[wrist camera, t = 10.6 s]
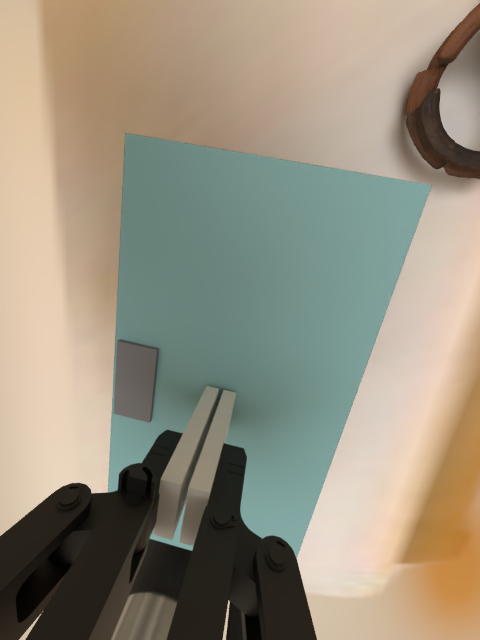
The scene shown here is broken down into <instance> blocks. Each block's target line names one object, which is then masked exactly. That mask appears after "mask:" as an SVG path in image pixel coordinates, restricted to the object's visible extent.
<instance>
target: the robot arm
mask: <svg viewBox="0 0 480 640" xmlns="http://www.w3.org/2000/svg"><path fill="white" fill-rule="evenodd" d="M218 393H219V388H215V387H210V386H206V388H205V390H204V392H203V394H202V396H201V398H200V400H199V402H198V404H197V406H196V408H195V410H194V412H193V414H192V417H191V419H190V421H189V423H188V425H187V427H186V429H185V431H184V433H179V432H175V431H171V430H166V431H164V432H163V433H161V434H160V435H159V436H158V437H157V439H156V441H155V442H154V444H153V446H152V447H151V449H150V450H149V453H147V455H146V457H145V458H144V460H143V462H142V463H135V464H131V465H129V466H127V467H125V468H124V469H123V470H122V471H121V472H120V473H119V480H118V490H116V491H113V492H108V493H93V494H91V490H90V488H89V487H88V486H87V485H85V484H81V483H72V484H69V485H66V486H63V487H61V488H60V489H58V490H57V491H55V492H54V493H53V494H51V495H50V496H49V497H48V498H46V499H45V500H44V501H43V502H42V503H40V504H39V505H38V506H37V507H35V508H34V509H33V510H32V511H31V512H29V513H28V514H27V515H26V516H25V517H23V518H22V519H21V520H20V521H18V522H17V523H16V524H15V525H14V526H12V527H11V528H10V529H9V530H8V531H6V532H5V533H4V534H3V535H1V536H0V640H19V639H20V638H21V636H22V635H23V634H24V633H25V632H26V630H27V629H28V628H29V627H30V626H31V624H32V623H33V622H34V621H35V620H36V618H37V617H38V616H39V615H40V614H41V613H42V614H41V616H40V617H39V619H38V621H37V622H36V624H35V625H34V627H33V628H32V630H31V632H30V633H29V635H28V637H27V638H26V640H111V638H112V636H113V633H114V631H115V628H116V626H117V623H118V621H119V618H120V616H121V613H122V611H123V609H124V606H125V604H126V601H127V599H128V596H129V594H130V591H131V589H132V586H133V584H134V581H135V579H136V577H137V574H138V572H139V569H140V567H141V564H142V562H143V559H144V557H145V554H146V552H147V547H148V542H149V538H150V536H151V533H152V531H153V529H154V533H153V535H156V536H159V537H163V538H166V539H170V540H173V537H174V534H175V531H176V529H177V526H178V523H179V520H180V517H181V514H182V511H183V509H184V506H185V511H184V517H183V523H182V529H181V534H180V540H179V542H180V543H184V544H187V545H191V546H193V550H192V553H191V557H190V560H189V564H188V567H187V570H186V574H185V577H184V581H183V584H182V588H181V591H180V595H179V598H178V601H177V605H176V608H175V612H174V615H173V619H172V622H171V626H170V629H169V632H168V636H167V639H166V640H222V639H223V631H224V625H225V618H226V612H227V604H228V600H229V601H230V602H231V603H232V604H234V605H235V606H236V607H237V608H239V609H240V610H241V619H242V633H243V640H317V638H316V634H315V630H314V626H313V622H312V618H311V614H310V610H309V606H308V602H307V598H306V595H305V591H304V587H303V583H302V579H301V575H300V571H299V567H298V563H297V559H296V556H295V554H294V551H293V549H292V548H291V546H290V545H289V544H288V543H287V542H286V541H285V540H283V539H282V538H280V537H277V536H273V535H271V536H266V537H264V538H263V539H262V538H261V537H259V536H258V535H256V534H255V533H253V532H252V531H251V530H250V529H249V528H248V527H247V526H246V525H245V523H244V521H243V519H242V517H241V513H240V506H241V499H242V491H243V484H244V476H245V469H246V462H247V456H246V453H245V450H244V448H241V447H237V446H233V445H229V444H225V442H226V438H227V434H228V430H229V426H230V421H231V416H232V411H233V407H234V402H235V397H236V393H235V392H231V391H227V390H223V393H222V396H221V399H220V401H219V404H218V407H217V410H216V413H215V409H216V403H217V398H218ZM214 414H215V415H214ZM185 503H186V505H185ZM43 610H44V611H43ZM42 611H43V612H42Z"/></svg>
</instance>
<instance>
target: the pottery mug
mask: <svg viewBox="0 0 480 640" xmlns="http://www.w3.org/2000/svg"><path fill="white" fill-rule="evenodd" d="M479 30H480V4H478V5H477V6H476V7H475V8H474V9H473V10H472V11H471V12H470V13H469V14H468V15H467V16H466V18H465V19H464V20H463V21H462V22H461V23H460V24H459V25H458V26H457V27H456V28H455V29H454V30H453V31H452V32H451V33H450V35H449V36H448V37H447V38H446V40H445V41H444V42H443V44H442V45H441V46H440V48H439V49H438V51H437V52H436V54H435V55H434V57H433V59H432V60H431V62H430V64H429V66H428V68H427V70H425V71H423V72H419V73H418V74H417V75H416V77H415V80H414V83H413V85H412V88H411V91H410V95H409V99H408V103H407V109H406V114H408V116H407V119H406V125H407V128H408V131H409V134H410V136H411V138H412V140H413V143H414V145H415V146H416V148H417V150H418V152H419V153H420V154H421V156H422V157H423V158H424V159H425V160H426V161H427V162H428V163H429V164H430V165H431V166H432V167H433V168H435V169H440V168H442V167H443V168H444V169H445V171H446V173H447V174H448V175H452V176H457V177H466V178H478V179H480V152H479V151H473V150H470V149H467V148H464V147H462V146H461V145H459V144H457V143H455V141H454V140H453V139H451V138H450V136H449V135H448V134H447V132H446V131H445V129H444V128H443V125H442V122H441V118H440V111H439V102H440V89H439V88H437V87H438V83H439V81H440V78H441V76H442V74H443V72H444V70H445V69H446V67H447V65H448V64H449V63H451V62H453V61H454V60H455V59H456V57H457V56H458V54H459V53H460V52H461V50H462V49H463V48H464V46H465V45H466V44H467V42H468V41H469V40H470V39H471V38H472V37H473V36H474V35H475V33H476V32H477V31H479Z"/></svg>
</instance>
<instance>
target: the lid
mask: <svg viewBox="0 0 480 640" xmlns="http://www.w3.org/2000/svg"><path fill="white" fill-rule="evenodd" d="M431 186H432V185H429V184H423V183H417V182H411V181H405V180H399V179H393V178H387V177H382V176H376V175H370V174H364V173H358V172H352V171H346V170H340V169H335V168H329V167H323V166H317V165H311V164H305V163H299V162H293V161H288V160H282V159H276V158H270V157H264V156H258V155H252V154H246V153H241V152H235V151H229V150H223V149H217V148H211V147H205V146H199V145H194V144H188V143H182V142H176V141H170V140H164V139H158V138H152V137H146V136H141V135H135V134H129V133H125V150H124V170H123V191H122V212H121V232H120V253H119V274H118V294H117V315H116V336H115V356H114V377H113V398H112V418H111V439H110V460H109V480H108V492H113V491H116V490H118V480H119V473H120V472H121V471H122V470H123V469H124V468H125V467H127V466H129V465H131V464H135V463H142V462H143V460H144V458H145V457H146V455H147V453H149V450H150V449H151V447H152V446H153V444H154V442H155V441H156V439H157V437H158V436H159V435H160V434H161V433H163V432H164V431H166V430H171V431H175V432H179V433H184V431H185V429H186V427H187V425H188V423H189V421H190V419H191V417H192V414H193V412H194V410H195V408H196V406H197V404H198V402H199V400H200V398H201V396H202V394H203V392H204V390H205V388H206V386H210V387H215V388H219V393H218V398H217V403H216V409H215V413H216V410H217V407H218V404H219V401H220V399H221V396H222V393H223V390H227V391H231V392H235V393H236V397H235V402H234V407H233V411H232V416H231V421H230V426H229V430H228V434H227V438H226V442H225V444H229V445H233V446H237V447H241V448H244V450H245V453H246V456H247V462H246V469H245V476H244V484H243V491H242V499H241V506H240V513H241V517H242V519H243V521H244V523H245V525H246V526H247V527H248V528H249V529H250V530H251V531H252V532H253V533H255V534H256V535H258V536H259V537H261V538H262V539H263V538H264V537H266V536H271V535H273V536H277V537H280V538H282V539H283V540H285V541H286V542H287V543H288V544H289V545H290V546H291V548H292V549H293V551H294V554H295V556H296V558H297V556H298V553H299V550H300V547H301V544H302V542H303V539H304V536H305V533H306V531H307V528H308V525H309V522H310V520H311V517H312V514H313V511H314V509H315V506H316V503H317V500H318V498H319V495H320V492H321V489H322V487H323V484H324V481H325V478H326V476H327V473H328V470H329V467H330V465H331V462H332V459H333V456H334V454H335V451H336V448H337V445H338V443H339V440H340V437H341V434H342V432H343V429H344V426H345V423H346V420H347V418H348V415H349V412H350V409H351V407H352V404H353V401H354V398H355V396H356V393H357V390H358V387H359V385H360V382H361V379H362V376H363V374H364V371H365V368H366V365H367V363H368V360H369V357H370V354H371V352H372V349H373V346H374V343H375V341H376V338H377V335H378V332H379V330H380V327H381V324H382V321H383V319H384V316H385V313H386V310H387V307H388V305H389V302H390V299H391V296H392V294H393V291H394V288H395V285H396V283H397V280H398V277H399V274H400V272H401V269H402V266H403V263H404V261H405V258H406V255H407V252H408V250H409V247H410V244H411V241H412V239H413V236H414V233H415V230H416V228H417V225H418V222H419V219H420V217H421V214H422V211H423V208H424V206H425V203H426V200H427V197H428V194H429V192H430V189H431ZM214 415H215V414H214ZM185 505H186V503H185ZM184 511H185V506H184V509H183V511H182V514H181V517H180V520H179V523H178V526H177V529H176V531H175V534H174V537H173V540H170V539H166V538H163V537H159V536H156V535H153V533H154V529H153V531H152V533H151V536H150V538H149V539H153V540H156V541H160V542H163V543H167V544H170V545H174V546H177V547H180V548H184V549H187V550H191V551H192V550H193V546H191V545H187V544H184V543H180V542H179V540H180V534H181V529H182V523H183V517H184Z"/></svg>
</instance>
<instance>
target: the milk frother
mask: <svg viewBox="0 0 480 640" xmlns="http://www.w3.org/2000/svg"><path fill="white" fill-rule="evenodd" d="M191 553H192V551H191V550H187V549H184V548H180V547H177V546H174V545H170V544H167V543H163V542H160V541H156V540H153V539H149V542H148V547H147V552H146V554H145V557H144V559H143V562H142V564H141V567H140V569H139V572H138V574H137V577H136V579H135V581H134V584H133V586H132V589H131V591H130V594H129V596H128V599H127V601H126V604H125V606H124V609H123V611H122V613H121V616H120V618H119V621H118V623H117V626H116V628H115V631H114V633H113V636H112V638H111V640H166V639H167V636H168V632H169V629H170V626H171V622H172V619H173V615H174V612H175V608H176V605H177V601H178V598H179V595H180V591H181V588H182V584H183V581H184V577H185V574H186V570H187V567H188V564H189V560H190V557H191ZM226 640H243V633H242V619H241V610H240V609H239V608H237V607H236V606H235V605H234V604H232V603H231V602H230V607H229V617H228V627H227V635H226Z"/></svg>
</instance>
